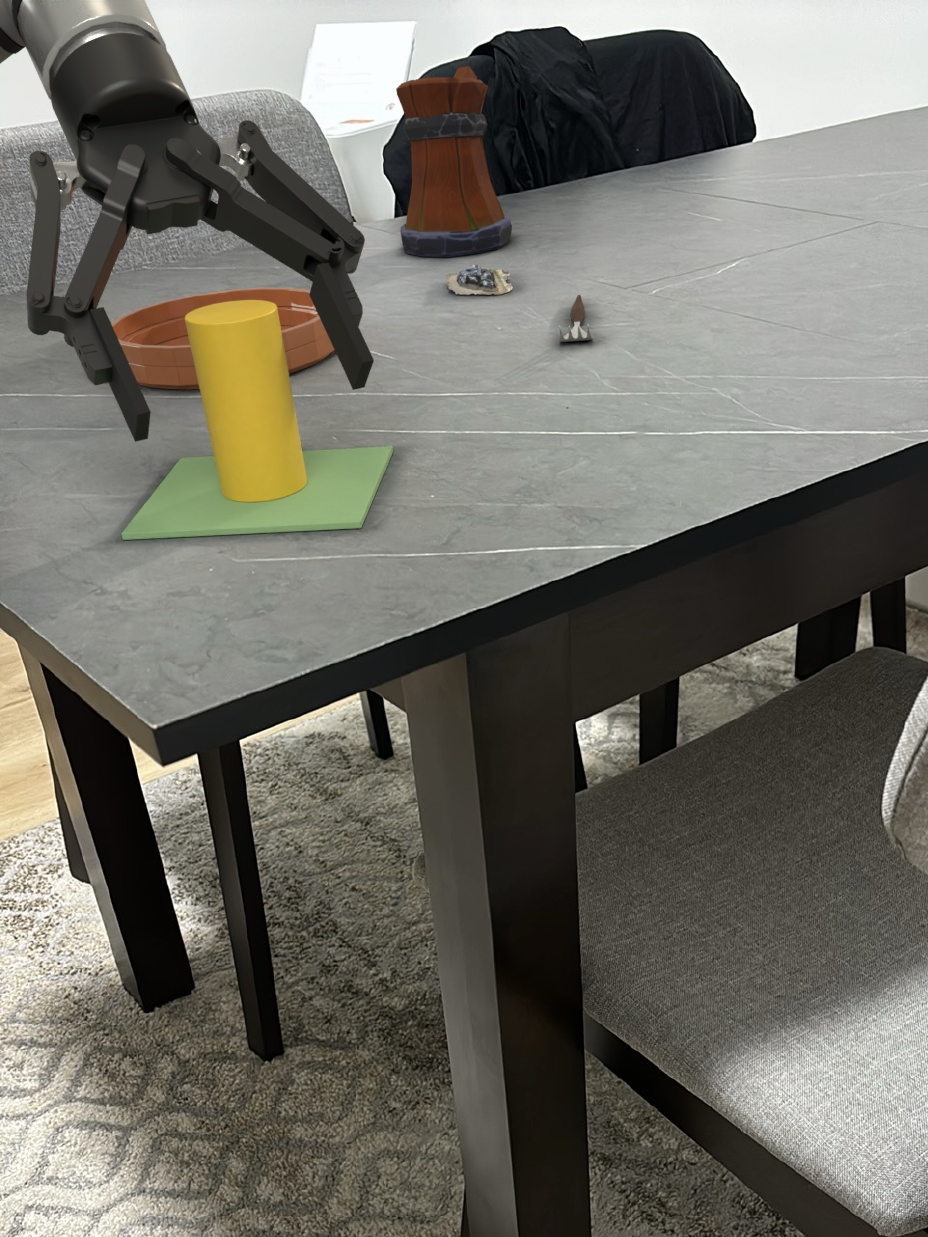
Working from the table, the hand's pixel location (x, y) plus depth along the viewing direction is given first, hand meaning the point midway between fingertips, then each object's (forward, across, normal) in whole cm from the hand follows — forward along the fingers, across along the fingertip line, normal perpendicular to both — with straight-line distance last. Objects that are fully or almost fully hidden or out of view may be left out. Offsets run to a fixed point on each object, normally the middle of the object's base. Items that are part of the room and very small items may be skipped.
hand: (257, 401), depth 76 cm
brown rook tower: (-38, -46, -46) cm, 75 cm away
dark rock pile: (-23, -37, -32) cm, 54 cm away
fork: (-10, -35, -19) cm, 41 cm away
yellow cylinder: (+2, 0, -5) cm, 6 cm away
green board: (+3, 0, -6) cm, 6 cm away
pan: (-20, -10, -28) cm, 36 cm away
